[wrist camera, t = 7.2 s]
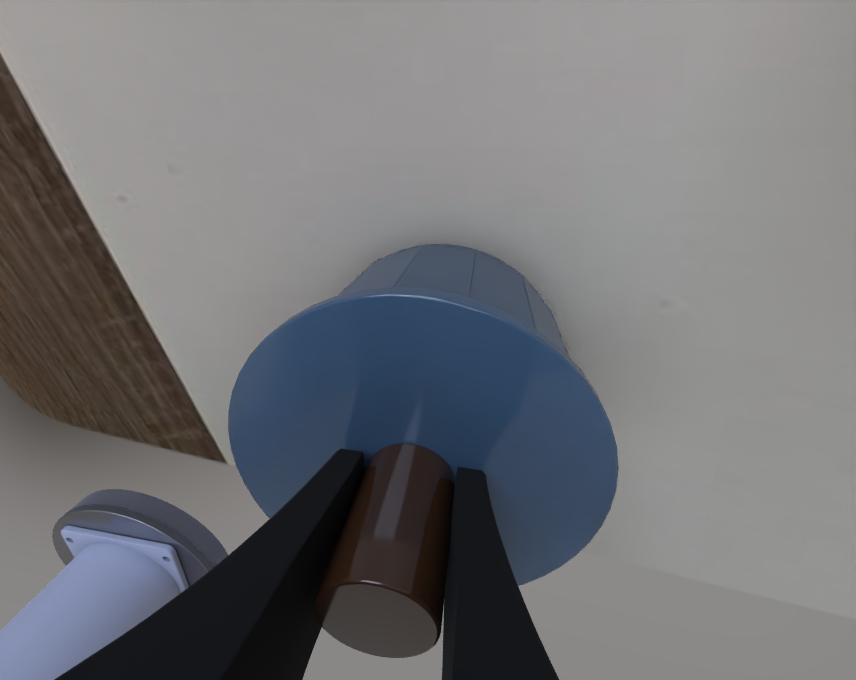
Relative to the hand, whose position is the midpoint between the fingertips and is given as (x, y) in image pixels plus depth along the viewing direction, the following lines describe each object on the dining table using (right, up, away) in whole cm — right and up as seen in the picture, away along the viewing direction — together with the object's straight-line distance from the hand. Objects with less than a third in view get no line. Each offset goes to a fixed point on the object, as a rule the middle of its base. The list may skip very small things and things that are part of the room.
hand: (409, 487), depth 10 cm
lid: (0, 0, +1) cm, 1 cm away
